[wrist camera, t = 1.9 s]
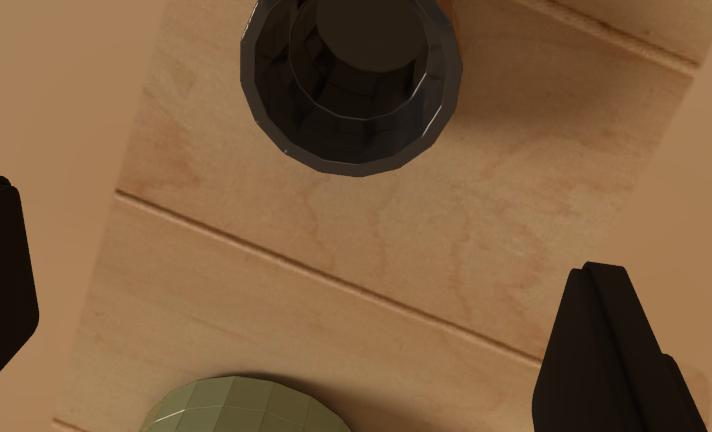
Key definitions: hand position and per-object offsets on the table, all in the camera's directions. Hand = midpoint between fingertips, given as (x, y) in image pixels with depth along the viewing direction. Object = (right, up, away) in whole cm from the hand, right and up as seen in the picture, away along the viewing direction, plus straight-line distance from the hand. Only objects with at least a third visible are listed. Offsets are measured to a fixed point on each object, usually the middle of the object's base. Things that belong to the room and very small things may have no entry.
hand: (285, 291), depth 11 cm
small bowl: (+2, +9, +15) cm, 17 cm away
